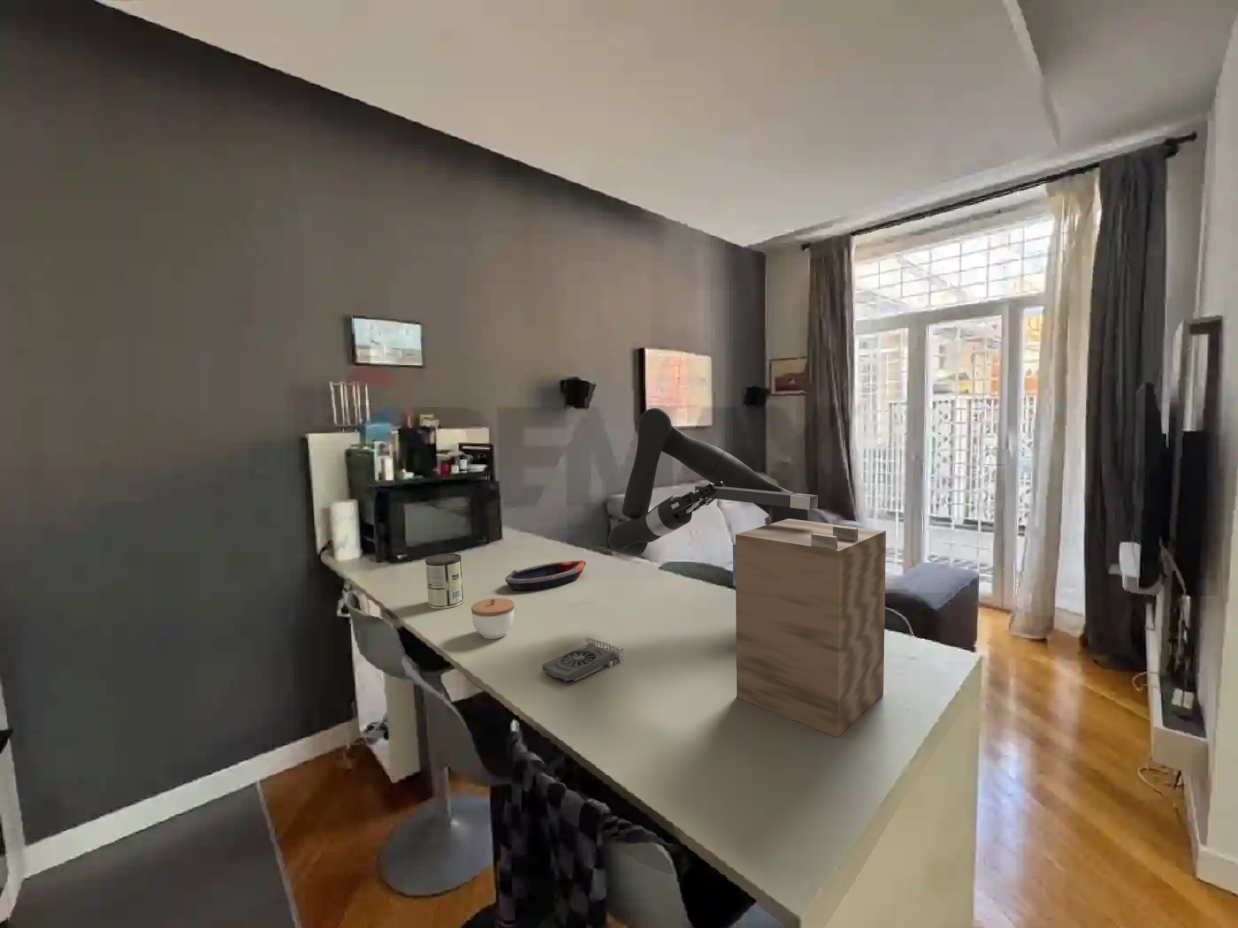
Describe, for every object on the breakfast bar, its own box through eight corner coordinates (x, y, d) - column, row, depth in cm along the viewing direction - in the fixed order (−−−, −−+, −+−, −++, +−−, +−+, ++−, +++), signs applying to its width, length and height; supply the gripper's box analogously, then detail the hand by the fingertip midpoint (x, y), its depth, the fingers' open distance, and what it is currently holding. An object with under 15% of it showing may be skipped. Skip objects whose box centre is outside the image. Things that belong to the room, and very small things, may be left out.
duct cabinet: (785, 661, 122) (785, 509, 119) (883, 693, 107) (886, 520, 104) (734, 695, 108) (732, 523, 105) (837, 737, 93) (839, 538, 90)
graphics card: (587, 634, 133) (624, 646, 124) (588, 649, 133) (625, 662, 124) (531, 658, 121) (567, 674, 112) (532, 675, 121) (568, 691, 112)
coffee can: (436, 597, 172) (434, 553, 171) (468, 597, 171) (466, 553, 170) (421, 609, 162) (418, 561, 161) (455, 609, 161) (453, 561, 160)
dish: (496, 586, 183) (495, 571, 183) (574, 568, 202) (574, 555, 201) (517, 597, 171) (517, 581, 170) (599, 578, 189) (598, 563, 189)
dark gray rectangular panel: (703, 494, 130) (703, 484, 130) (817, 507, 110) (817, 495, 110) (694, 496, 128) (694, 486, 127) (809, 509, 108) (809, 497, 107)
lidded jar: (491, 646, 134) (489, 608, 134) (463, 636, 141) (462, 600, 140) (524, 631, 143) (522, 596, 142) (496, 623, 149) (495, 589, 149)
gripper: (643, 506, 132) (692, 474, 121) (680, 498, 142) (729, 468, 131) (655, 535, 130) (706, 505, 119) (692, 525, 140) (743, 497, 128)
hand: (718, 486), depth 125 cm, fingers closed on dark gray rectangular panel, 3 cm apart
